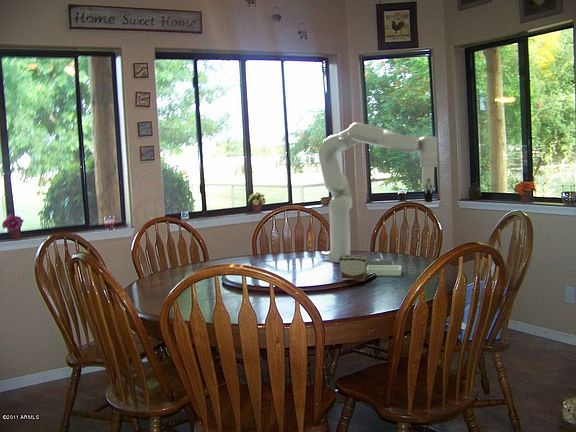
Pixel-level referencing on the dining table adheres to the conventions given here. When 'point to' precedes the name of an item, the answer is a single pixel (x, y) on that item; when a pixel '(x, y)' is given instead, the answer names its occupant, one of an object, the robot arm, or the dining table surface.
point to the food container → (353, 266)
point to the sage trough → (384, 269)
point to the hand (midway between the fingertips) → (428, 201)
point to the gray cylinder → (381, 262)
